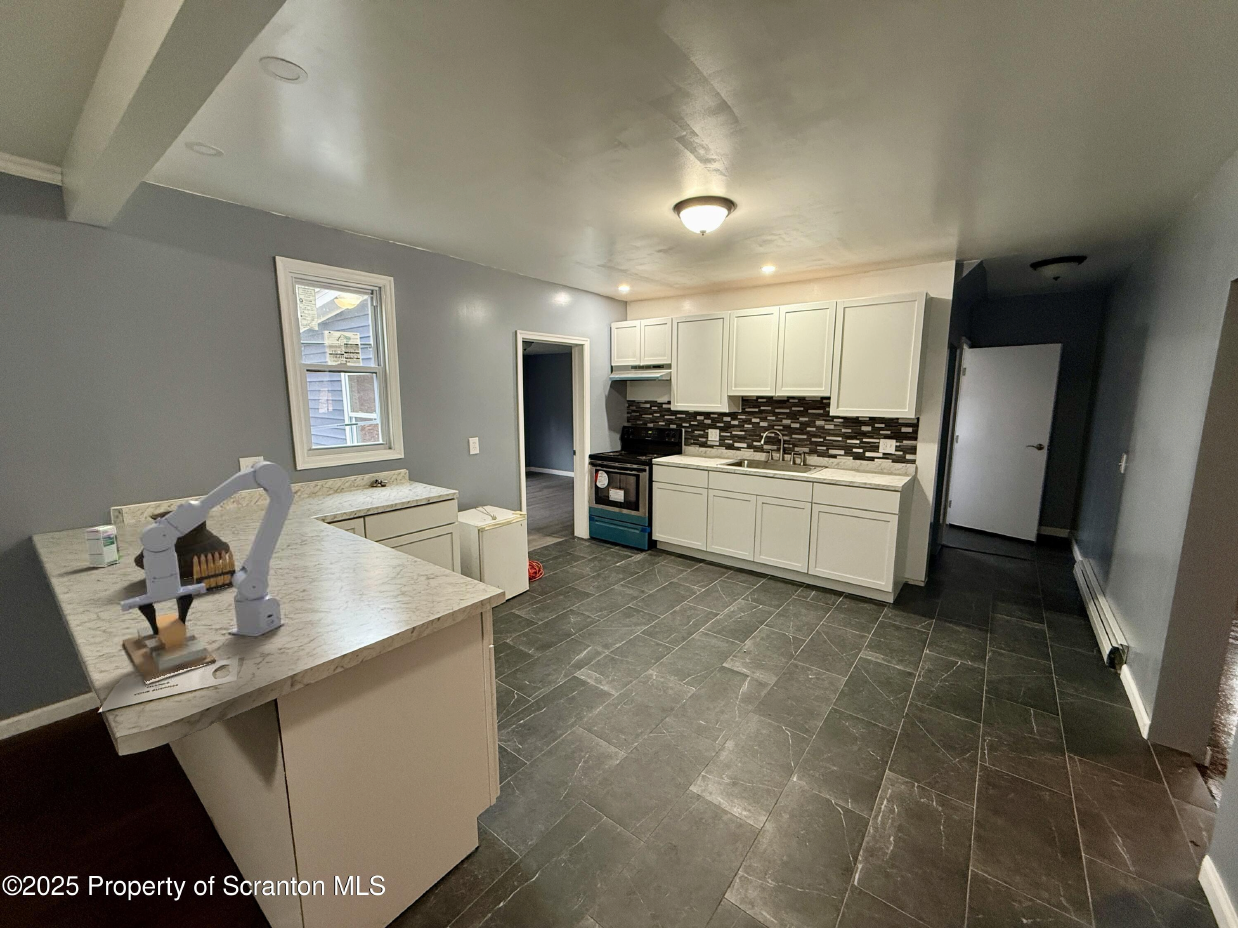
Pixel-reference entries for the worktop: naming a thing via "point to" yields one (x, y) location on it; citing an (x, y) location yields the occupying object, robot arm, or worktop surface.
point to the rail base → (147, 663)
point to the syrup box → (102, 545)
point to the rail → (171, 650)
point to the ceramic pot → (191, 547)
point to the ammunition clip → (214, 571)
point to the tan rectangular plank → (171, 630)
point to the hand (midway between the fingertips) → (169, 630)
